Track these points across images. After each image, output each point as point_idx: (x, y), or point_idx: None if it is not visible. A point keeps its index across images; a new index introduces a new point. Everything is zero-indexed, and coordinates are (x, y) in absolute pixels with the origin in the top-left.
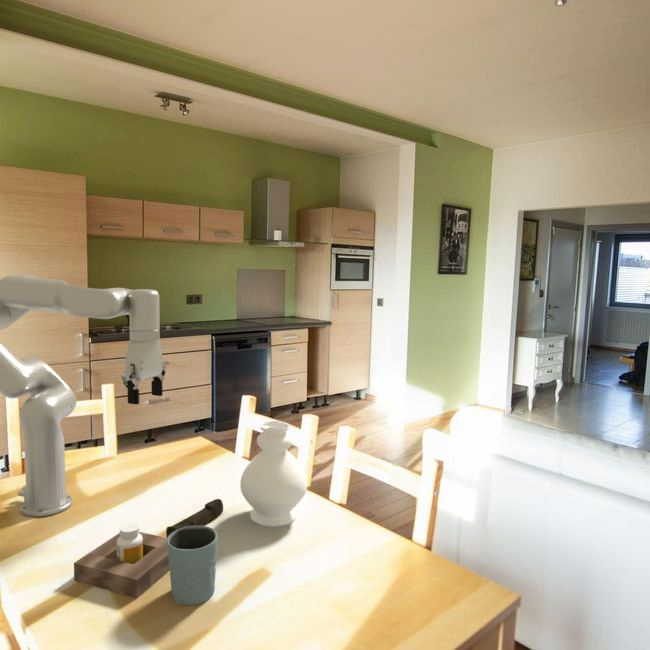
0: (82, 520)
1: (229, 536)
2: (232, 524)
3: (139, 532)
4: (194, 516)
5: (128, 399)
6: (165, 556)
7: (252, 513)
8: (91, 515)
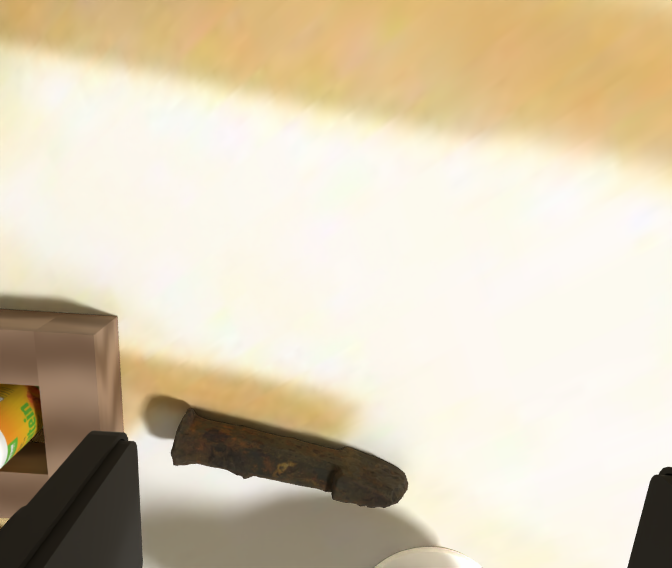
0: (184, 67)
1: (273, 544)
2: (339, 526)
3: (93, 387)
4: (271, 469)
5: (21, 508)
6: None
7: (406, 562)
8: (228, 71)
